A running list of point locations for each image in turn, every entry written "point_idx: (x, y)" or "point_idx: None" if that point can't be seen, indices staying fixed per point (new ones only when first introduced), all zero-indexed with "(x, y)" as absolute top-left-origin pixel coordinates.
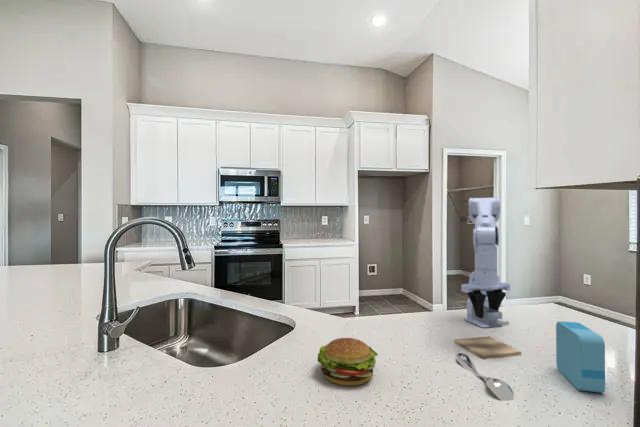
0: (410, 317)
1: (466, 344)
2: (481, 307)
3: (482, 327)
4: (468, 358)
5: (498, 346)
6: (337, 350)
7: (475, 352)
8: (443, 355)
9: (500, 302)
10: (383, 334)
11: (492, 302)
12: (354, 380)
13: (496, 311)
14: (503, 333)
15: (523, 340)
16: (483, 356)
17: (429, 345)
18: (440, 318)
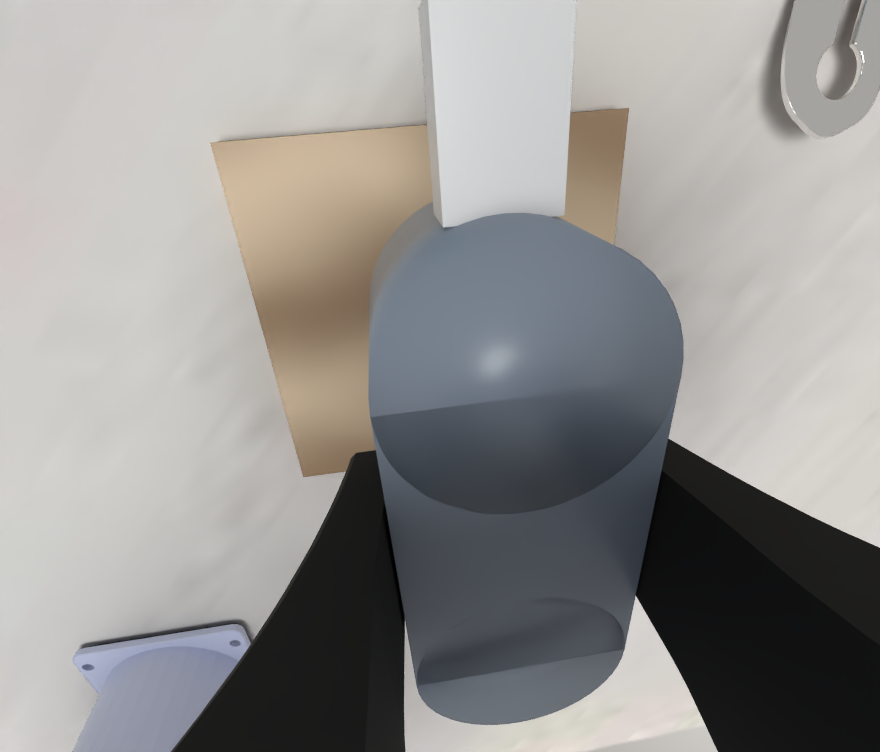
0: (563, 721)
1: None
2: (770, 512)
3: (239, 625)
4: (803, 54)
5: (354, 288)
6: None
7: (615, 205)
8: (829, 222)
9: (260, 677)
10: (867, 538)
11: (394, 714)
12: None
13: (432, 444)
14: (133, 549)
15: (28, 431)
16: (617, 110)
17: (772, 389)
18: (414, 722)
